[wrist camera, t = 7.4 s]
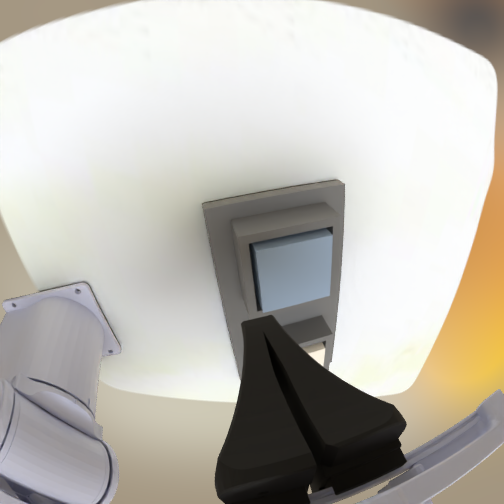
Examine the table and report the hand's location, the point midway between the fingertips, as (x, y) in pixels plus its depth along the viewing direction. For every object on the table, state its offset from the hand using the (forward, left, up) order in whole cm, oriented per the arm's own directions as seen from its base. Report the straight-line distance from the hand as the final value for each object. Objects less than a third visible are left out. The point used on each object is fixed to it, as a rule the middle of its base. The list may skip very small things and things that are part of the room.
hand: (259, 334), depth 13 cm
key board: (+4, -8, -10) cm, 14 cm away
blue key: (+4, -2, -8) cm, 9 cm away
